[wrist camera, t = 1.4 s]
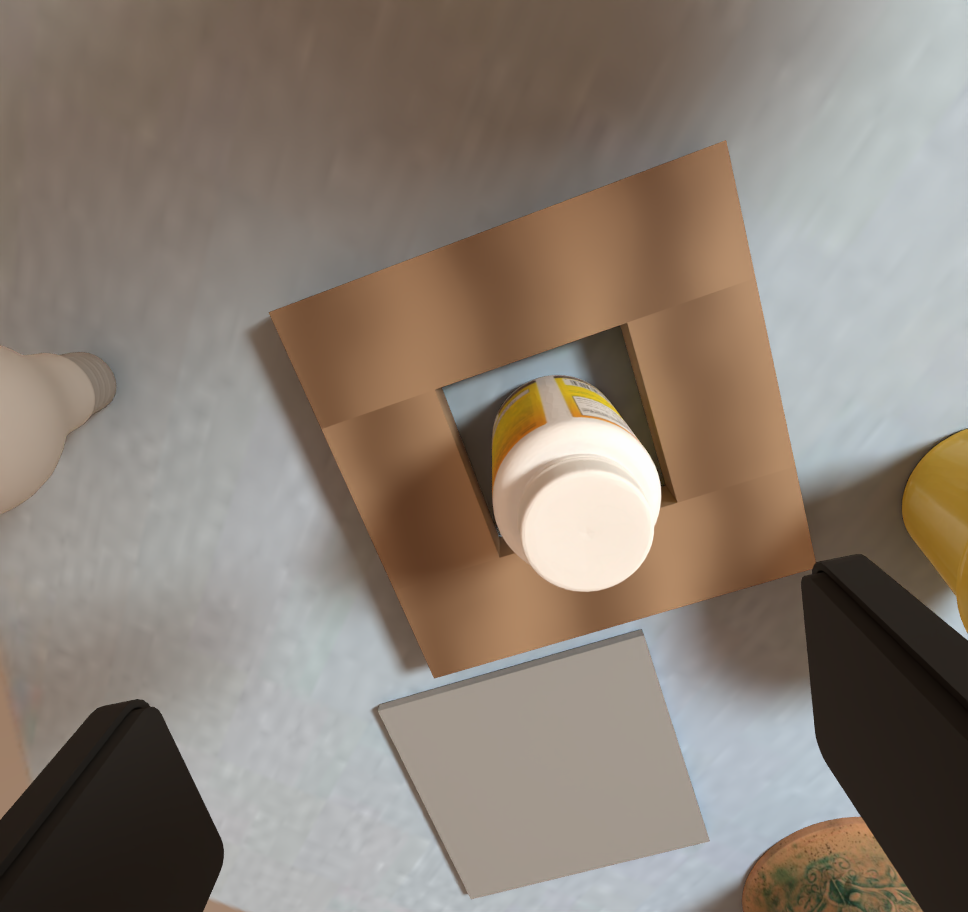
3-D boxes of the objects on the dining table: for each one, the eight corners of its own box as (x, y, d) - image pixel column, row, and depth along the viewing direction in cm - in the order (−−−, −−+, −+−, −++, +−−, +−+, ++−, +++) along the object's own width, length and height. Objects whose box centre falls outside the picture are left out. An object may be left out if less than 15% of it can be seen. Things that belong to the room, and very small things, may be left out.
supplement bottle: (499, 497, 29) (502, 624, 20) (485, 379, 28) (480, 454, 18) (620, 485, 29) (684, 607, 19) (614, 364, 27) (681, 433, 18)
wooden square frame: (708, 147, 24) (726, 140, 23) (796, 546, 30) (816, 567, 28) (284, 307, 27) (268, 312, 25) (437, 652, 32) (434, 678, 30)
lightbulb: (197, 388, 28) (19, 477, 17) (105, 470, 29) (-112, 598, 19) (89, 275, 26) (-176, 298, 16) (-3, 366, 28) (-304, 441, 17)
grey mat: (641, 629, 31) (643, 635, 31) (706, 833, 36) (709, 841, 35) (379, 704, 33) (377, 711, 33) (471, 890, 37) (471, 899, 37)
